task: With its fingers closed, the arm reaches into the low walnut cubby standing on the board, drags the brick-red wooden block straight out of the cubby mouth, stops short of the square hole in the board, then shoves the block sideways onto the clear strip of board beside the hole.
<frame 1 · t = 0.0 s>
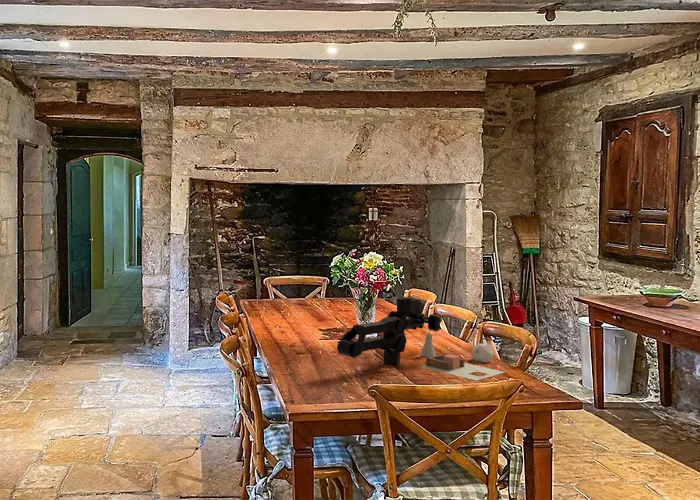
hand: (433, 318, 293), 17 cm above the table, tool horizontal, fingers open, 9 cm apart
board: (478, 377, 263), on the table
block: (451, 367, 271), point 1 cm above the table, touching board
die: (481, 363, 285), on the table
flask: (428, 358, 292), on the table
cubby: (445, 369, 273), resting on board
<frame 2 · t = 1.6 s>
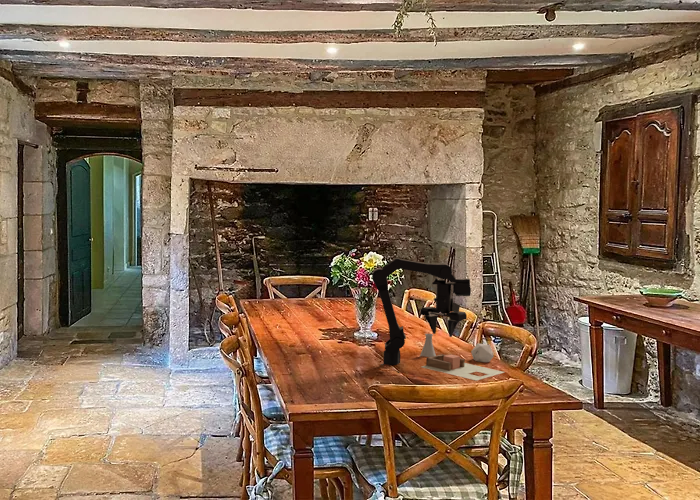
hand: (442, 335, 274), 13 cm above the table, tool pointing down, fingers open, 8 cm apart
nothing on the table moved.
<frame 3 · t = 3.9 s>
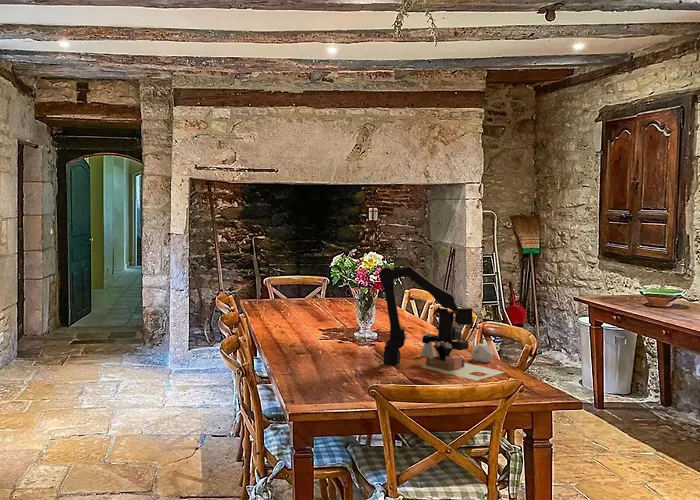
hand: (444, 363, 274), 2 cm above the table, tool pointing down, fingers closed
block: (453, 368, 271), point 1 cm above the table, touching board, gripper
everything else where it was.
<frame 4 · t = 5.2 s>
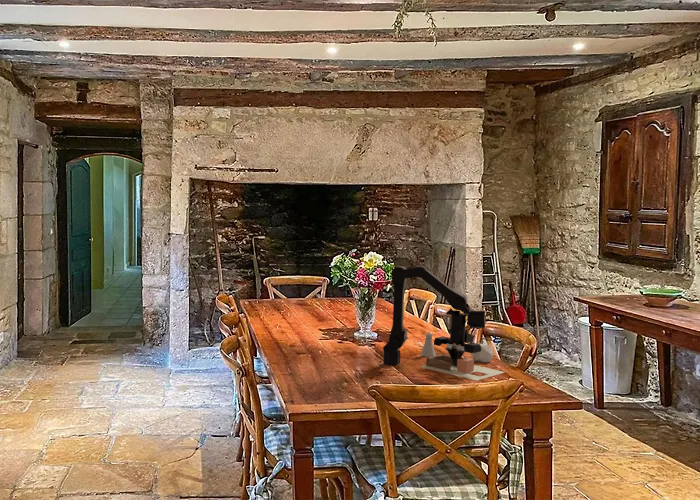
hand: (456, 366, 270), 2 cm above the table, tool pointing down, fingers closed
block: (465, 370, 267), point 1 cm above the table, touching board, gripper
everything else where it was.
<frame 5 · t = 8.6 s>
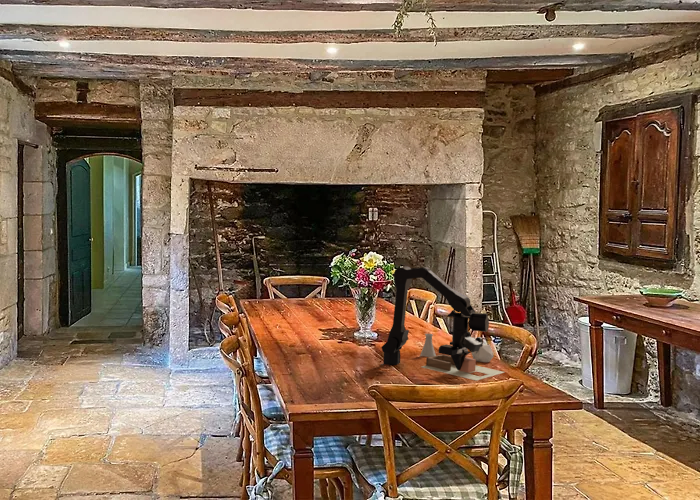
hand: (458, 369, 265), 2 cm above the table, tool pointing down, fingers closed
nothing on the table moved.
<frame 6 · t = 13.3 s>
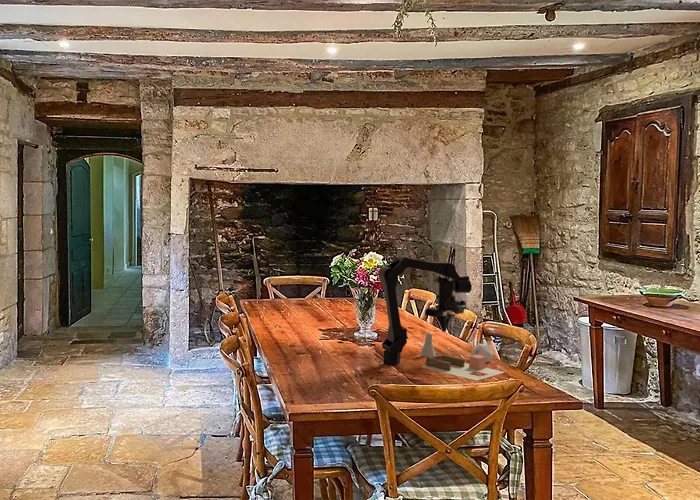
hand: (444, 331, 282), 13 cm above the table, tool pointing down, fingers closed
block: (477, 367, 272), point 1 cm above the table, touching board
everything else where it was.
at the end: block 0.7 cm from the target spot, point 1.2 cm above the table; block tilted 0°; block moved 10.2 cm from its start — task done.
